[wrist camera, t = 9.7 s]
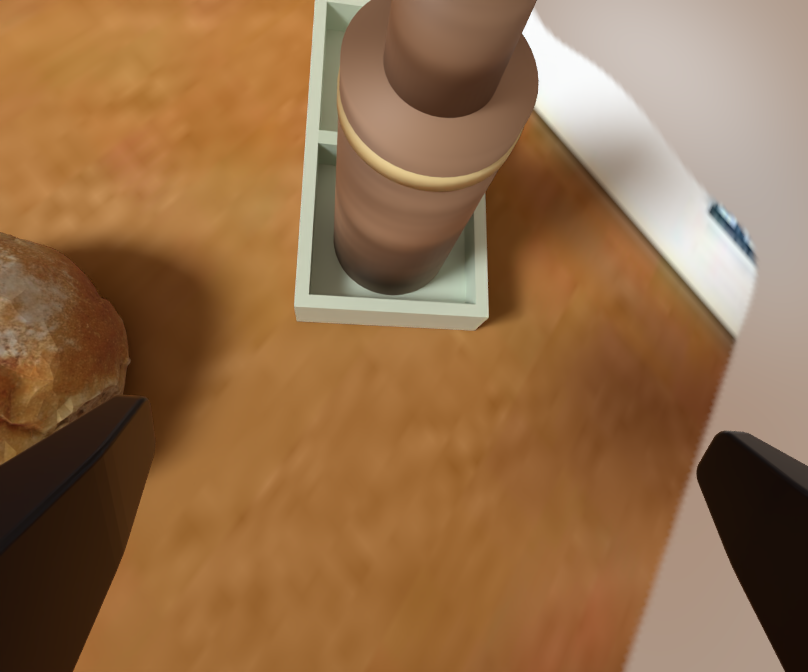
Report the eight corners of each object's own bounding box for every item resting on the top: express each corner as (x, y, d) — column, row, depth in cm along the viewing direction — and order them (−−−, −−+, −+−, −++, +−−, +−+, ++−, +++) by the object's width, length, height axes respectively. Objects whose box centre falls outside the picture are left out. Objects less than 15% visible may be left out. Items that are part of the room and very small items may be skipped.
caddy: (474, 330, 22) (488, 317, 20) (296, 321, 21) (294, 306, 19) (468, 47, 26) (480, 13, 24) (316, 27, 25) (315, -10, 23)
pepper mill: (467, 269, 22) (686, -34, 9) (363, 315, 21) (432, 46, 8) (415, 173, 23) (544, -242, 9) (312, 212, 22) (293, -198, 8)
